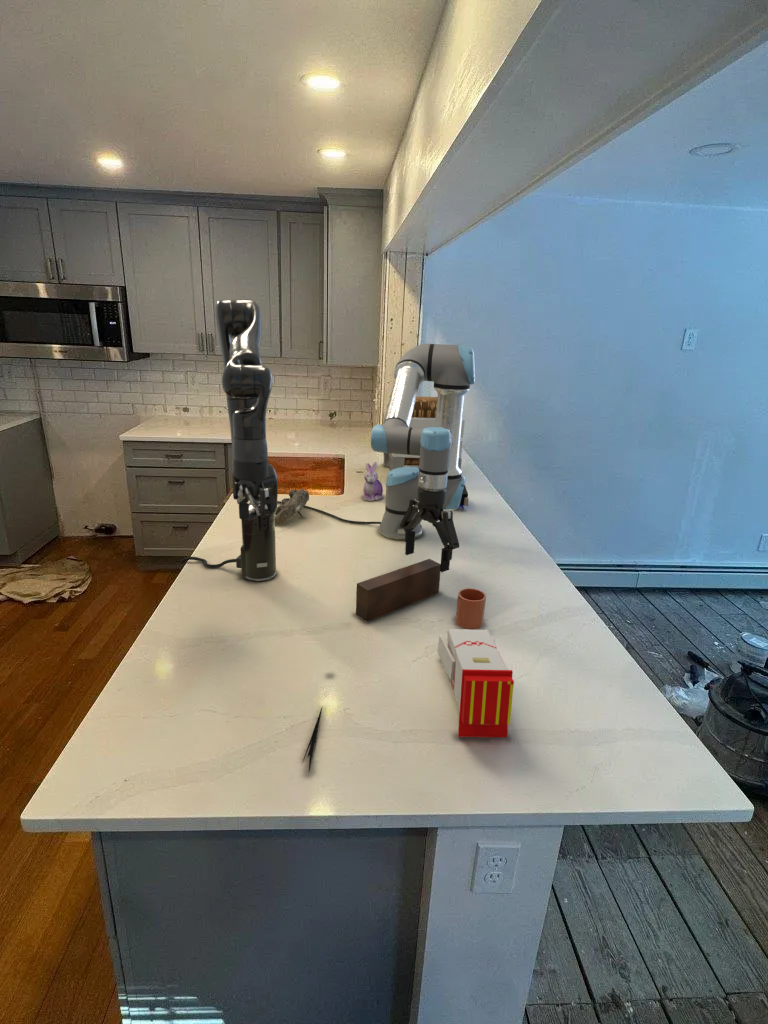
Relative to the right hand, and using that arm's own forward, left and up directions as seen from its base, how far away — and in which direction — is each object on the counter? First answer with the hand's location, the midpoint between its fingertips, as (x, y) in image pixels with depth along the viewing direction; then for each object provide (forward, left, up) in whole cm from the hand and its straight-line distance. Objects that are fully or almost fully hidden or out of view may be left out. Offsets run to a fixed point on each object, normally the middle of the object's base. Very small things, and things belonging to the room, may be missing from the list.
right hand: (426, 562), depth 155 cm
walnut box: (0, -9, -10) cm, 14 cm away
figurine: (-73, +42, -10) cm, 85 cm away
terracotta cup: (+18, -1, -10) cm, 20 cm away
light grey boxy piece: (-90, +85, -10) cm, 124 cm away
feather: (+24, -52, -10) cm, 58 cm away
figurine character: (-46, +65, -10) cm, 80 cm away
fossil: (-73, +3, -10) cm, 74 cm away
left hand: (-14, -44, +16) cm, 49 cm away
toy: (+37, -22, -10) cm, 44 cm away
